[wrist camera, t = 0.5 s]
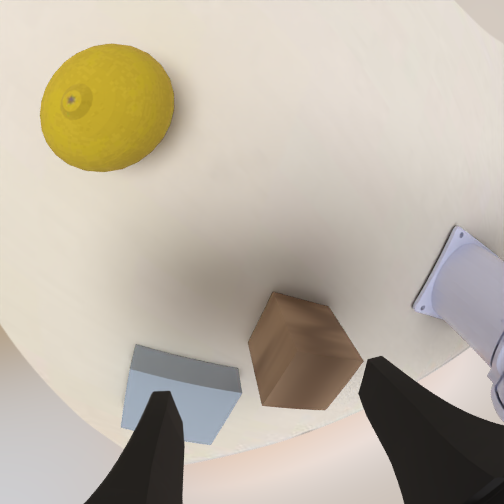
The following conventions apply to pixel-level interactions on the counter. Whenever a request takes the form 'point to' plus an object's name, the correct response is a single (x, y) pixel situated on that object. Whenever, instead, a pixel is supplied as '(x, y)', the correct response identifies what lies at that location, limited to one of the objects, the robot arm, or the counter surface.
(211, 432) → the blue-gray block
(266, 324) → the walnut block
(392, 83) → the counter surface
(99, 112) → the lemon
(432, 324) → the counter surface
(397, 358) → the counter surface
